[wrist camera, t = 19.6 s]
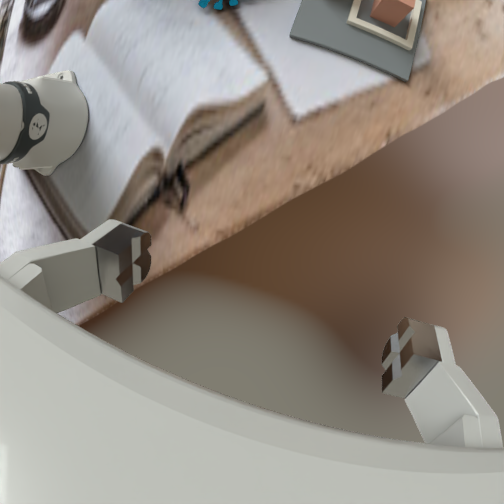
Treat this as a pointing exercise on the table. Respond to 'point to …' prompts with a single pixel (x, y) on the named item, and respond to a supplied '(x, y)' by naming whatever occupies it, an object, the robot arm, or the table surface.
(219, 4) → the gear
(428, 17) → the table surface
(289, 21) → the table surface
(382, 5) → the pillar block
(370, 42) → the base plate
